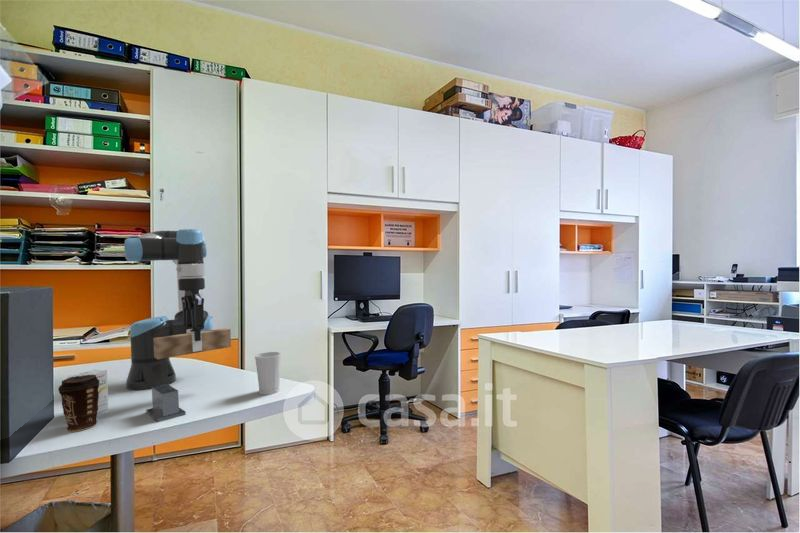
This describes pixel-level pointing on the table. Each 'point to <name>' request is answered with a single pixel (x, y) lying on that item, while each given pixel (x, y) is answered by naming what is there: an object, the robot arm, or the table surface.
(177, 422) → the table surface
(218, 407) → the table surface
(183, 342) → the walnut beam
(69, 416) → the coffee cup
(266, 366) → the cup
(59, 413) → the table surface
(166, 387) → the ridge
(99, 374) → the ink box
